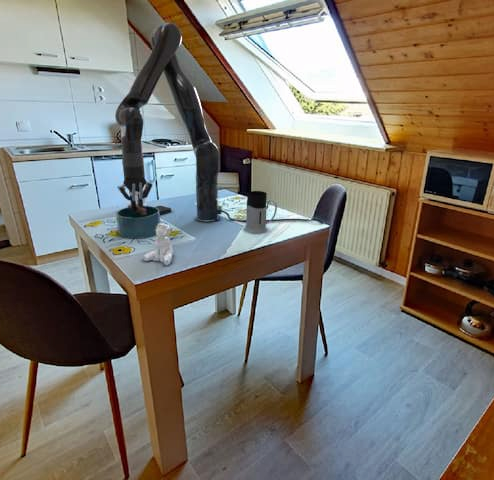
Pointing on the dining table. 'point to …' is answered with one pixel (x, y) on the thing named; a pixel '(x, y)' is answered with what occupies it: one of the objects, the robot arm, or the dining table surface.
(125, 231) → the cooking pot
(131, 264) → the dining table surface
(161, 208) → the smart home device
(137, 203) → the white cup
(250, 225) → the travel mug
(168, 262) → the seated beast figurine
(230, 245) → the dining table surface
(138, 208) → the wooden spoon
